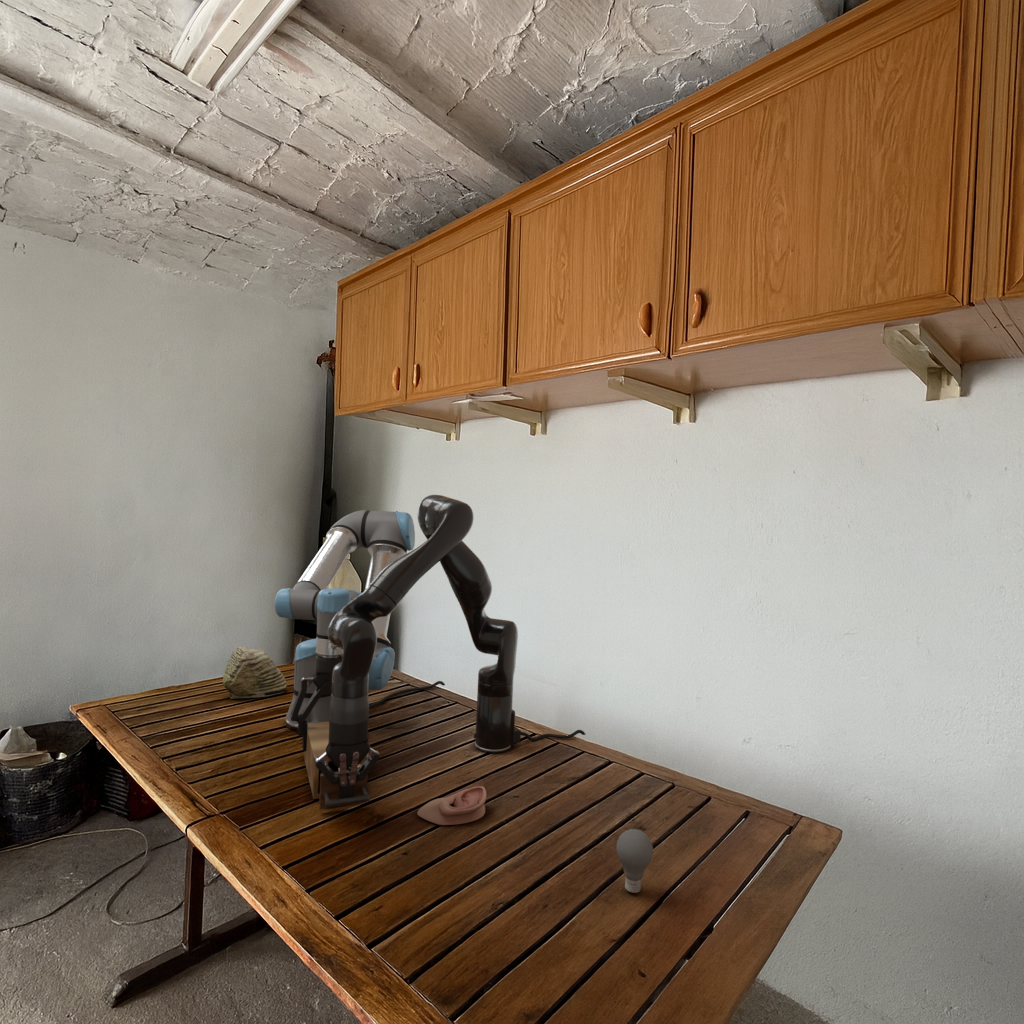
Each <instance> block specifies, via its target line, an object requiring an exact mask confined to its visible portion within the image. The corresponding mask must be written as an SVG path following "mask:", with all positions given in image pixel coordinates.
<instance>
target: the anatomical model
mask: <svg viewBox="0 0 1024 1024" xmlns="http://www.w3.org/2000/svg"><path fill="white" fill-rule="evenodd" d="M487 796H488V795H487V789H486V788H485V787H484V786H482V785H477V786H473V787H469V788H466V789H463V790H460V791H457V792H456V793H454V794H451V795H448V796H446V797H440V798H436V799H433V800H430V801H429V802H427V803H426V804H424V805H423V806H421V807H420V808H419V809H418V811H416V812H417V816H418V817H419V818H421V819H423V820H425V821H427V822H429V823H432V824H435V825H439V826H454V825H462V824H468V823H471V822H475V821H477V820H479V819H481V818H483V817H484V815H485V813H486V806H485V803H486V802H487Z"/></svg>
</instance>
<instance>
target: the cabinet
mask: <svg viewBox="0 0 1024 1024" xmlns="http://www.w3.org/2000/svg"><path fill="white" fill-rule="evenodd" d="M328 742H329V722H318V723H308V724H307V750H306V751H303V753H304V756H303V759H304V764H305V769H306V773H307V778H308V782H309V786H310V790H311V791H310V792H311V796H312V800H318V799H320V788H319V784H318V779H319V769H318V768H317V767H316V763H315V758H316V757H317V756H319V757H320V756H321V755H323V754H324V753H325V752H326V747H327V745H328ZM365 760H366V756H365V757H364V759H363V760H362V762H361V763H360V765H361V766H362V764H363V763H364V762H365ZM328 761H331V760H330V759H329V758H328Z"/></svg>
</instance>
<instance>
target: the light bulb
mask: <svg viewBox="0 0 1024 1024" xmlns="http://www.w3.org/2000/svg"><path fill="white" fill-rule="evenodd" d="M615 849H616V854H617V857H618V859H619V861H620V863H621V865H622V867H623V873H624V874H623V875H624V876H625V878H624V888H625V890H627V891H628V892H630V893H634V894H635V893H639V892H640V891H641V889H642V887H641V886H642V879H643V877H644V875H645V871H646V868H647V867H648V866H649V864H650V863H651V861H652V859H653V855H654V847H653V843H652V841H651V838H649V836H648V835H647V834H646V833H645V832H643V831H642V830H641V829H636V828H629V829H627V830H625V831H623V832H622V833H621V834H620V835H619V837H618V839H617V841H616V847H615Z"/></svg>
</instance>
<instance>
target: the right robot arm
mask: <svg viewBox="0 0 1024 1024" xmlns="http://www.w3.org/2000/svg"><path fill="white" fill-rule="evenodd" d="M474 516H475V515H474V511H473V508H472V507H471V506H470V505H469V504H468V503H466V502H464V501H461V500H458V499H455V498H452V497H450V496H449V497H448V496H445V495H442V494H430V495H427V496H425V497H424V498H423V499H422V500H421V501H420V503H419V505H418V509H417V523H418V525H419V528H420V531H421V532H422V533H423V535H424V537H425V538H426V540H425V541H424V542H423V543H422V544H420V545H419V546H418V547H416V548H415V549H414V548H413V550H410V551H409V552H407V553H406V554H405V555H403V556H402V557H400V558H398V559H396V560H395V561H393V562H391V563H390V564H389V565H387V566H386V567H385V568H384V569H383V570H382V571H381V572H380V573H379V574H378V575H377V577H376V578H375V579H374V580H373V581H372V582H371V584H370V585H369V586H368V587H367V588H366V590H365V589H364V590H363V592H361V593H362V594H360V595H359V596H357V597H356V598H355V599H353V600H352V601H351V602H350V603H348V604H347V605H346V606H345V607H343V608H342V609H341V610H340V611H339V612H338V613H337V614H336V615H335V616H334V617H333V619H332V620H331V622H330V624H329V627H328V638H329V640H330V642H331V643H332V644H333V645H335V646H337V647H339V648H341V649H343V658H342V662H340V663H338V664H336V665H335V667H334V669H333V673H332V694H331V701H330V710H329V742H328V745H327V747H326V752H325V753H324V754H323V755H321V756H320V757H319V756H317V757H316V758H315V763H316V767H317V768H318V769H319V770H320V771H321V772H322V773H323V775H324V776H325V777H326V778H327V779H328V780H329V781H330V782H331V783H332V784H333V785H334V784H338V785H339V799H340V798H347V797H354V789H355V783H356V782H357V781H359V780H360V781H363V780H364V779H365V777H366V776H367V775H369V774H370V773H371V771H372V770H373V768H374V767H375V766H376V764H377V763H378V762H379V760H380V759H381V755H380V752H379V751H378V749H373V748H372V747H371V744H370V742H369V723H370V722H369V721H370V720H369V719H370V708H369V704H370V699H369V690H368V683H369V669H370V667H371V664H372V660H373V656H374V652H375V649H376V643H377V634H376V629H375V626H374V625H373V623H372V621H373V620H374V619H376V618H378V617H385V616H388V615H389V614H390V613H391V614H392V612H393V611H394V610H395V609H396V608H397V607H398V605H399V604H400V603H401V602H402V600H403V599H404V598H405V597H406V595H407V594H408V593H409V592H410V591H411V589H412V588H413V587H414V586H415V585H416V583H417V582H418V581H420V579H422V578H423V577H424V576H425V574H427V573H428V572H429V571H430V570H431V569H432V568H433V567H434V566H436V565H437V564H438V563H440V566H441V567H442V569H443V571H444V573H445V575H446V578H447V580H448V583H449V586H450V587H451V590H452V592H453V594H454V596H455V598H456V600H457V602H458V603H459V607H460V608H461V611H462V613H463V615H464V618H465V620H466V623H467V627H468V630H469V634H470V637H471V640H472V643H473V645H474V647H475V649H476V650H477V651H478V652H480V653H482V654H486V655H487V654H488V655H492V656H497V662H496V663H494V664H489V665H485V666H483V667H480V669H478V674H477V694H476V695H477V698H476V719H475V734H474V735H473V740H475V741H474V747H475V749H477V750H479V751H480V752H484V753H489V754H490V753H491V754H498V753H499V754H500V753H504V752H507V751H509V750H510V749H512V748H514V747H515V746H514V745H515V744H517V743H521V740H522V739H521V738H522V737H521V736H523V737H525V738H526V739H527V740H529V741H530V742H536V741H539V740H541V739H544V738H555V739H562V740H567V739H572V738H574V737H575V736H576V735H578V734H581V735H582V736H586V732H585V731H584V730H582V729H577V730H575V731H573V732H572V733H570V734H555V733H543V734H539V735H537V736H535V737H532V736H530V735H529V733H527V732H523V731H522V730H521V729H519V727H516V726H515V725H516V724H515V723H516V711H515V710H514V709H513V701H514V700H513V697H514V678H515V677H514V676H515V671H516V665H517V664H516V663H517V650H518V643H519V642H518V641H519V631H518V626H517V624H516V623H515V621H512V620H509V619H500V618H492V617H489V616H488V614H487V612H486V610H485V608H486V607H487V605H488V603H489V601H490V599H491V596H492V594H493V593H492V592H493V585H492V581H491V579H490V576H489V573H488V571H487V568H486V567H485V565H484V563H483V562H482V560H481V559H480V558H479V556H477V554H476V553H475V552H474V551H473V550H472V549H471V548H470V547H469V546H468V545H467V544H466V543H465V542H464V541H463V540H464V539H465V538H466V537H467V536H468V534H469V533H470V531H471V530H472V527H473V524H474V518H475V517H474ZM391 614H390V615H391ZM566 735H568V736H566ZM364 757H365V762H364V763H363V764H362V766H361V767H360V768H359V770H358V771H357V768H358V765H359V764H360V763H361V762H362V760H363V759H364ZM328 758H329V759H330V760H331V761H332V762H333V763H334V765H335V766H336V767H338V772H339V775H336V774H335V773H334V772H333V771H332V770H331V769H330V767H329V766H328V764H329V762H328ZM347 767H348V777H347V778H348V780H347V778H346V774H347V771H346V768H347Z"/></svg>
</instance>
